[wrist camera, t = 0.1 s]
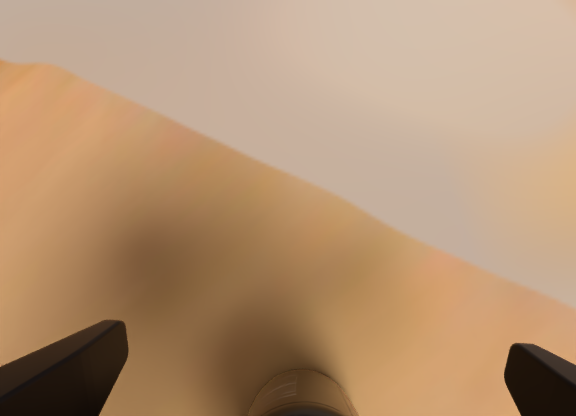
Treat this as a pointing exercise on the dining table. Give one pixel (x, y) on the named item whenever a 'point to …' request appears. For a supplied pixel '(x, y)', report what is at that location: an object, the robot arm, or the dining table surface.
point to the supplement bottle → (302, 396)
